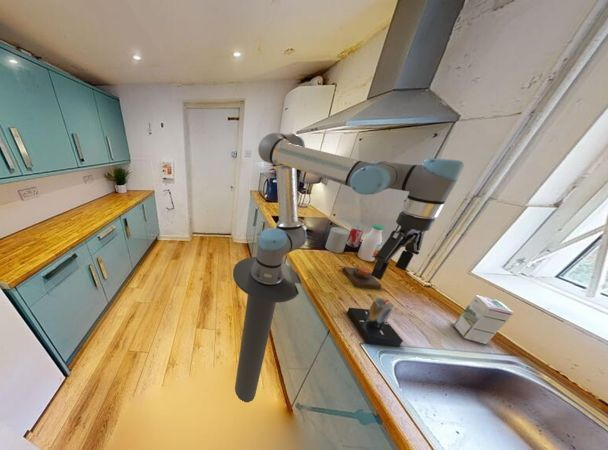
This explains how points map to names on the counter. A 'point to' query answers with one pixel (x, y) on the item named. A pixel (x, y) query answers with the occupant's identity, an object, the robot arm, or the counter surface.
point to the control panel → (373, 329)
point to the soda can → (354, 236)
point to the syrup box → (482, 319)
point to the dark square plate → (361, 278)
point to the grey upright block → (379, 313)
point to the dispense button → (363, 271)
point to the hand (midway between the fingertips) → (388, 272)
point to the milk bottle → (371, 243)
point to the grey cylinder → (337, 239)
